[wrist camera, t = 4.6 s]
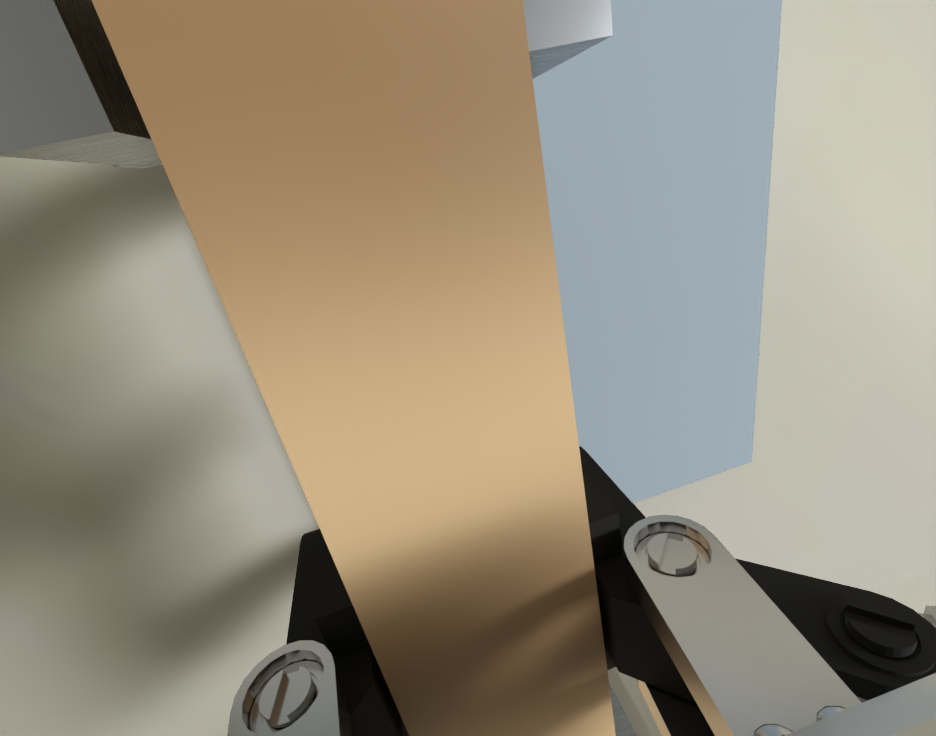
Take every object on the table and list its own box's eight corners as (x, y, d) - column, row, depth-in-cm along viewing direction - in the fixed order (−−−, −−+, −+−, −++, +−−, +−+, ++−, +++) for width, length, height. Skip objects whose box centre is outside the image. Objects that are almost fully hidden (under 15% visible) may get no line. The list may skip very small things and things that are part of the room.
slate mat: (743, 455, 26) (751, 461, 26) (580, 512, 25) (585, 519, 24) (783, -263, 15) (800, -279, 14) (485, -233, 13) (491, -251, 13)
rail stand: (528, 530, 24) (697, 853, 13) (379, 582, 23) (414, 989, 12) (418, -43, 15) (718, -965, 3) (150, -1, 13) (-1176, -1238, 2)
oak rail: (584, 793, 14) (642, 942, 11) (488, 834, 13) (524, 1001, 11) (378, -295, 5) (410, -875, 2) (80, -270, 5) (-315, -940, 2)
